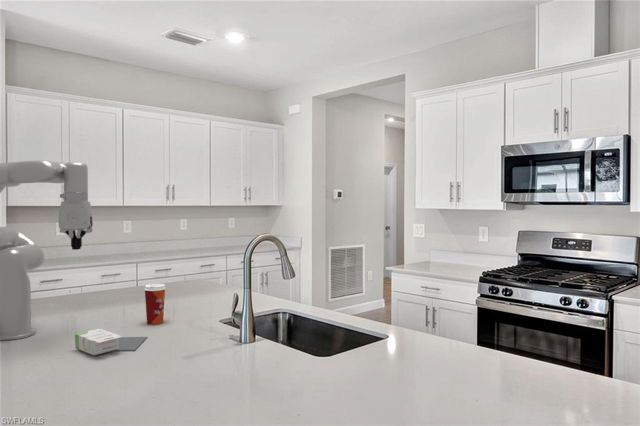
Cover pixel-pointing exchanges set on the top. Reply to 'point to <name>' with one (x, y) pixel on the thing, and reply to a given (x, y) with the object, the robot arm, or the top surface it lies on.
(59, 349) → the top surface
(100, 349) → the ink box
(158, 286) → the coffee cup
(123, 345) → the mat
